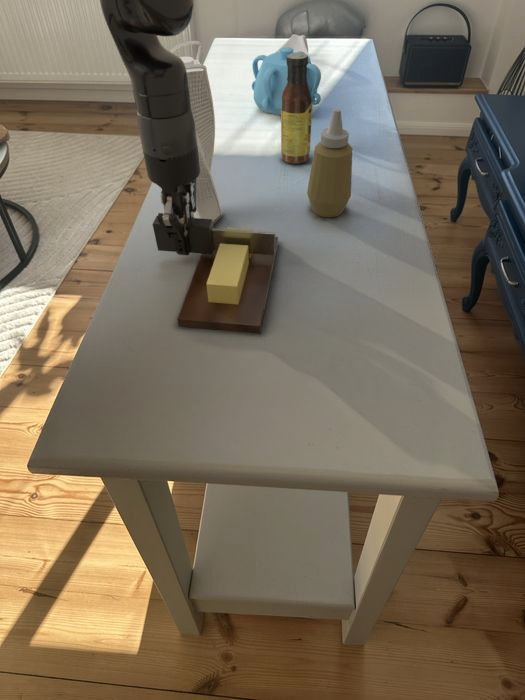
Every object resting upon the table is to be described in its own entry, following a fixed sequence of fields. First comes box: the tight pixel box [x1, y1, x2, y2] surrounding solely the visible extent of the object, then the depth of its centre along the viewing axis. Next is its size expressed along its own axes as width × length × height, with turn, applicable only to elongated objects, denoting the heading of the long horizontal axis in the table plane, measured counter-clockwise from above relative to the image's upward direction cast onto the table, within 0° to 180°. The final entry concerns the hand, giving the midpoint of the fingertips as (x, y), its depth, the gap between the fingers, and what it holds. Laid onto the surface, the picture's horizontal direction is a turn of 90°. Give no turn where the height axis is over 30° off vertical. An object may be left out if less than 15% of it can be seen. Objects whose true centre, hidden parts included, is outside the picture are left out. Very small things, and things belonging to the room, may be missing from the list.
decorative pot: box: [251, 47, 322, 116], centre depth 119 cm, size 16×16×14 cm
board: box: [176, 236, 279, 334], centre depth 76 cm, size 12×22×2 cm, turn 172°
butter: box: [207, 244, 249, 305], centre depth 73 cm, size 4×10×4 cm, turn 172°
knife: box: [152, 215, 276, 255], centre depth 76 cm, size 19×2×5 cm, turn 82°
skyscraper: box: [169, 40, 223, 225], centre depth 79 cm, size 8×8×28 cm
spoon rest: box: [274, 33, 311, 59], centre depth 142 cm, size 24×12×7 cm, turn 167°
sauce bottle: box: [280, 53, 313, 165], centre depth 98 cm, size 7×6×20 cm
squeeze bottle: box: [306, 108, 353, 218], centre depth 84 cm, size 8×8×18 cm
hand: (186, 247), depth 78 cm, fingers closed on knife, 2 cm apart
